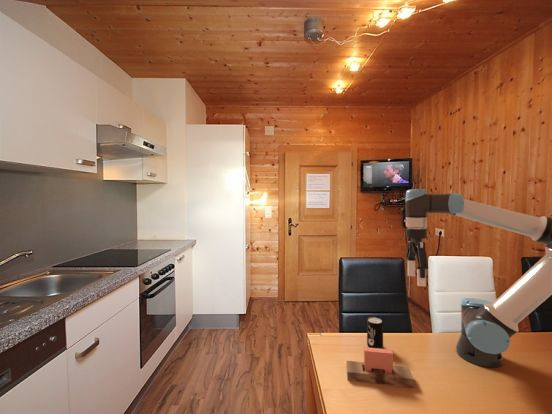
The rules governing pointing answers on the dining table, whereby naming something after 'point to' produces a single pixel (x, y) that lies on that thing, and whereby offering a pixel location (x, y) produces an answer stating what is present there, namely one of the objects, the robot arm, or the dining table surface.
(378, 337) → the beverage can
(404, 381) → the grey-brown slotted holder
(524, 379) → the dining table surface
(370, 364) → the pink pronged block
